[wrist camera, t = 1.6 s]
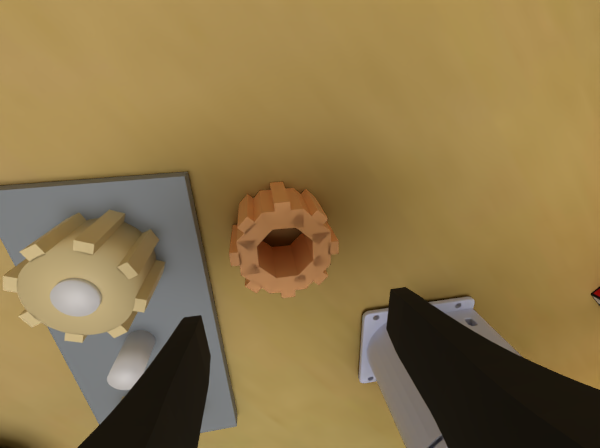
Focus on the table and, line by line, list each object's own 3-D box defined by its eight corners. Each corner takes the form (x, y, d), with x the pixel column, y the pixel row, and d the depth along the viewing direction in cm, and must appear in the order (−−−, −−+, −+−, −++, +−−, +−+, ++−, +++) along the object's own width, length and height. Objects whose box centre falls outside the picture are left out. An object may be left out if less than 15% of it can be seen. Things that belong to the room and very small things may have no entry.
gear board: (187, 171, 17) (165, 200, 12) (237, 414, 26) (234, 480, 22) (-8, 186, 15) (-111, 224, 11) (117, 436, 25) (88, 511, 20)
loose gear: (323, 178, 18) (339, 197, 15) (323, 259, 21) (337, 290, 17) (226, 186, 17) (221, 208, 14) (239, 269, 20) (237, 304, 17)
